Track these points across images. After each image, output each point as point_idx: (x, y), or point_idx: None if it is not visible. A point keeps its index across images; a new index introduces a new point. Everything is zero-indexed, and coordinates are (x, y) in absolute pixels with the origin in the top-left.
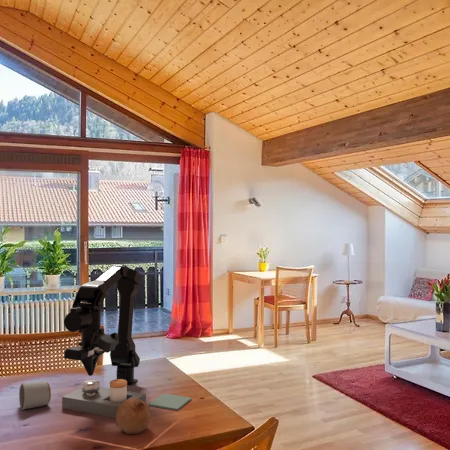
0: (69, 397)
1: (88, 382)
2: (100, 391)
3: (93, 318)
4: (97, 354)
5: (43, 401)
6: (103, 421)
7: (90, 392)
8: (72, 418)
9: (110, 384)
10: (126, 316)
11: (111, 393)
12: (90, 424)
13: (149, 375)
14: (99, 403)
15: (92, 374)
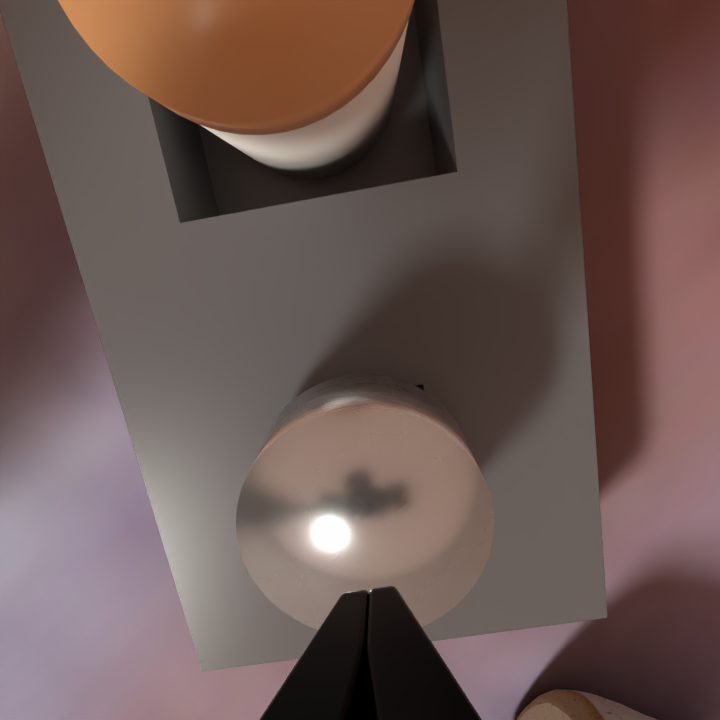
0: (587, 547)
1: (381, 559)
2: (260, 407)
3: None
4: None
5: (634, 715)
6: (595, 13)
7: (443, 410)
8: (664, 330)
9: (408, 6)
10: None
11: (406, 30)
12: (710, 74)
13: None
14: (573, 114)
15: (357, 595)
